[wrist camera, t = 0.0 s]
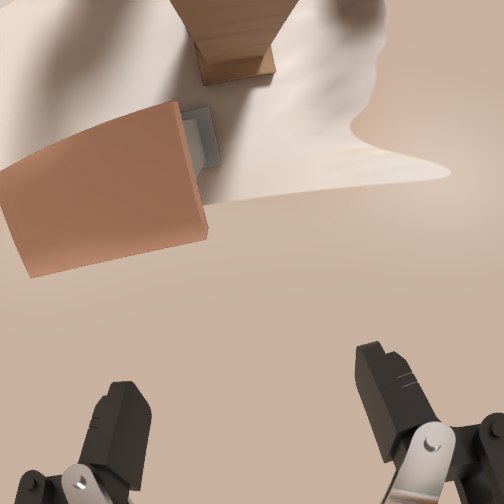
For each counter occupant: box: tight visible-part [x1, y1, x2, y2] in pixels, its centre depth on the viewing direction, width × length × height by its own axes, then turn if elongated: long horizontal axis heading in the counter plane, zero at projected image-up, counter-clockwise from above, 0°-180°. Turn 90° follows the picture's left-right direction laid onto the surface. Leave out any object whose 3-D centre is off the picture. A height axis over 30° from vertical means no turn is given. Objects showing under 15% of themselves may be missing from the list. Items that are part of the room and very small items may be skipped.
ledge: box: [0, 101, 221, 278], centre depth 24 cm, size 7×12×22 cm, turn 101°
